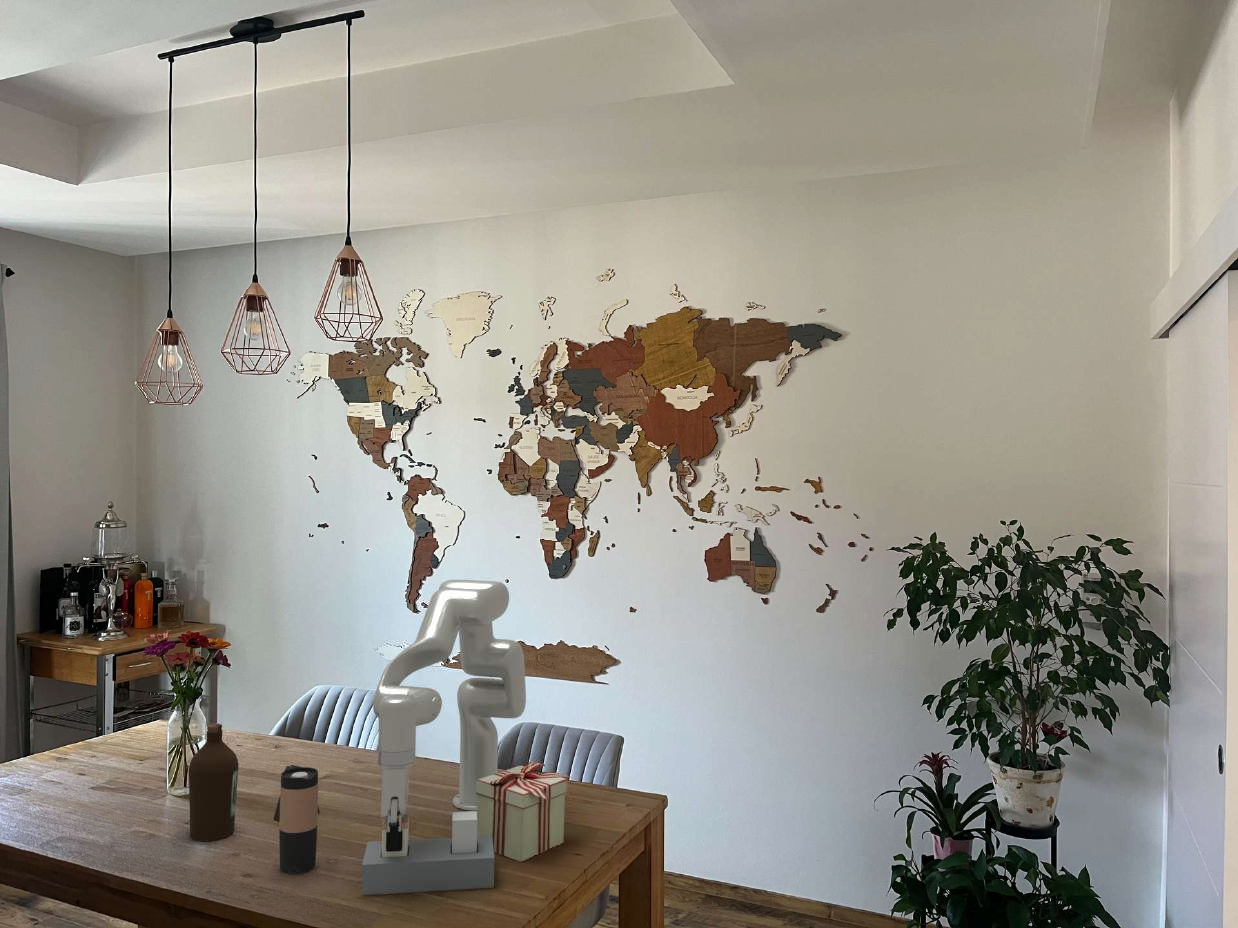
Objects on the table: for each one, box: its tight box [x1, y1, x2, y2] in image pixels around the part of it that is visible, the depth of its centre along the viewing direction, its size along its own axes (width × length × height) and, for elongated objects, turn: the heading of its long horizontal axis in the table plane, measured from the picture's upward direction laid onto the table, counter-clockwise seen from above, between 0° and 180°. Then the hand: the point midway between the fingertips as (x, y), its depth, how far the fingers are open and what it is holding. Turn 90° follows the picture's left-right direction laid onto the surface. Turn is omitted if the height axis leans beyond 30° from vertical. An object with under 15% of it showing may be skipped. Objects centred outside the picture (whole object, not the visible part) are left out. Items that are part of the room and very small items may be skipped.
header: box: [361, 810, 495, 896], centre depth 194 cm, size 26×12×13 cm, turn 100°
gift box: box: [476, 761, 571, 863], centre depth 213 cm, size 17×18×17 cm
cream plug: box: [381, 813, 410, 857], centre depth 193 cm, size 5×5×12 cm
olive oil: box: [187, 723, 240, 842], centre depth 217 cm, size 11×11×25 cm
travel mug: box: [278, 766, 319, 875], centre depth 199 cm, size 8×8×20 cm
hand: (395, 843), depth 193 cm, fingers open, 5 cm apart
